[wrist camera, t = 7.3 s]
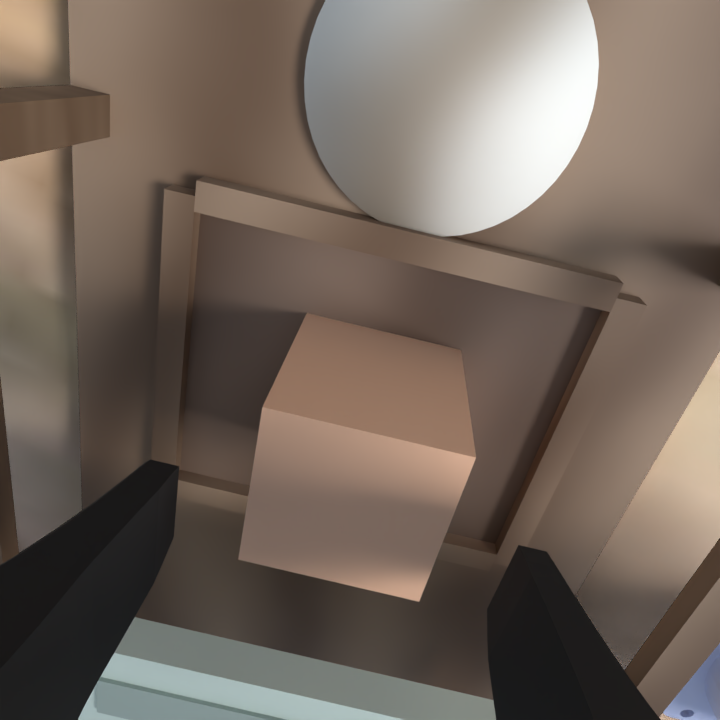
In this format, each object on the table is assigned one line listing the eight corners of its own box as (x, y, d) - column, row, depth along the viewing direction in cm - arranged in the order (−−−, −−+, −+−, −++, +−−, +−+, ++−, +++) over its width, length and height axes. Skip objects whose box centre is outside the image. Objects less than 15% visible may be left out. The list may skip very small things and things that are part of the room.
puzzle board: (883, 17, 12) (1270, -27, 7) (471, 744, 26) (485, 928, 21) (88, -182, 12) (-201, -398, 7) (98, 659, 26) (9, 821, 21)
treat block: (461, 350, 16) (475, 457, 12) (420, 471, 18) (419, 601, 14) (306, 312, 16) (262, 407, 11) (283, 438, 18) (238, 559, 14)
